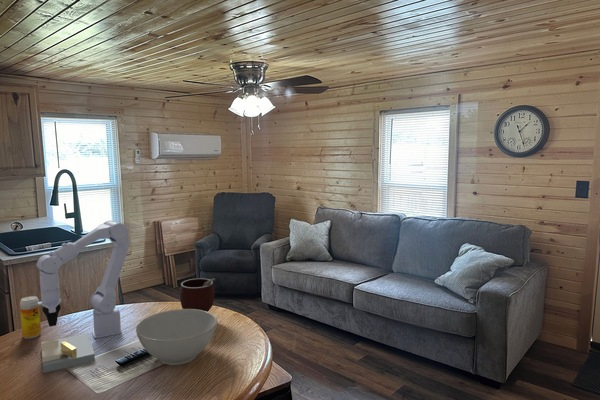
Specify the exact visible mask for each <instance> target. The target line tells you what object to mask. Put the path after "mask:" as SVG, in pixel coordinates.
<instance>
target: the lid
mask: <svg viewBox="0 0 600 400" xmlns="http://www.w3.org/2000/svg"><path fill="white" fill-rule="evenodd" d="M58 339H59V338H55V339H50V340H45V341H41V342H40V343H41V357H42V359H41V361H42V363H43V362H46V361H51V360H55V359H60V351H59V341H58Z"/></svg>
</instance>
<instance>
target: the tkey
mask: <svg viewBox="0 0 600 400" xmlns="http://www.w3.org/2000/svg"><path fill="white" fill-rule="evenodd" d="M61 352H62V356H68V357H70V358H72V359H74V358H77V350H76V348H75V347H74V346H72V345H70V344H69V343H67V342H65V341H64V342H61Z"/></svg>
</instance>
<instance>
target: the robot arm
mask: <svg viewBox="0 0 600 400" xmlns="http://www.w3.org/2000/svg"><path fill="white" fill-rule="evenodd" d="M129 232H130V231H129V229H128V228H127V227H126V224H124V223H123V222H117V221H116V222H115V220H107V221H105V222H103V223H101V224H98V225H97V226H96V227H95V228H93V229H92V230H91V231H89V232H88V233H86V234H85V235H83V236H82V237H81V238H79V239H77V240H76V241H74V242H72V241H71V242H67V243H66V242H63V243H62V244H61V246H59V248H56V249H55V250H53V251H49V252H48V254H44V255H42V256H40V257H39V258H38V260H37V262H36V264H35V265H36V268H37V269H38V271H39V284H40V298H41V301H39V302H38V305H39V306H42V307H41V309H42V312H43V315H44V316H45V317H46V320H47V323H48V326H49V327H55V326H57V324H58V317H59V313H60V311H61V308H62V305H61V303H62V299H61V292H60V291H61V290H60V278H59V277H60V276H59V271H60V268H61V266H63V265H65V264H66V263H68V262H69V261H70V260H72V259H74V258H77V256H79V252H80V251H81V250H82V249H84V248H86V247H87V246H90V245H91V244H93V243H95V242H97V241H98V240H101V239H102V240H103V239H104V240H107V239H108V240H109V241H110V242H111V244H112V245H113V249H112V253H111V255H110V257H109V260H108V263H107V265H106V269H105V271H104V274H103V278H102V281H101V283H100V285H99V286H98V287H97V288H96V290H95V292H94V293H93V294H92V295H91V297H90V300H89V303H90V305H91V306H92V308H93V310H92V316H93V318H92V319H93V330H91V334H92V336H93V338H94V339H101V338H105V337H109V336H114V335H118V334H122V330H121V329H122V328H121V327H122V326H121V325H122V324H121V312H120V310H119V308H116V304H117V301H116V299H117V291H116V287H117V284H118V281H119V278H120V276H121V272H122V269H123V267H124V263H125V260H126V258H127V255H128V251H129V248H130V237H129Z"/></svg>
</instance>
